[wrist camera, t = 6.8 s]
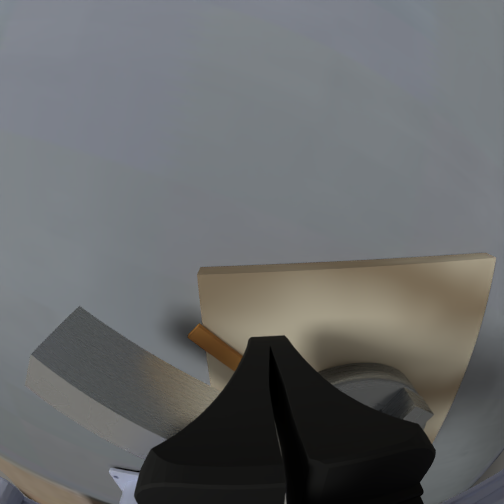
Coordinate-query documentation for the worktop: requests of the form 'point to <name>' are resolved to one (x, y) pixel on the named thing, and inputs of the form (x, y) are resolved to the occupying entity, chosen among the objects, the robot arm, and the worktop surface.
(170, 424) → the metal lever mechanism
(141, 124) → the worktop surface
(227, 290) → the square wooden board
